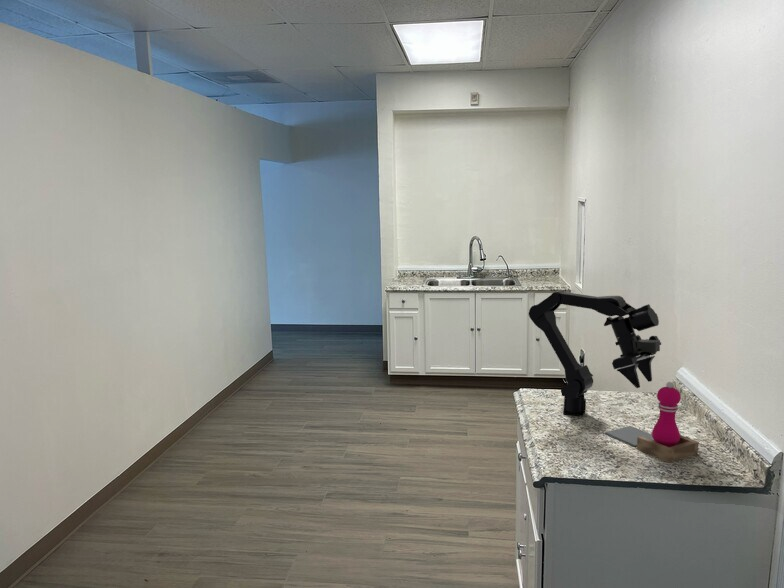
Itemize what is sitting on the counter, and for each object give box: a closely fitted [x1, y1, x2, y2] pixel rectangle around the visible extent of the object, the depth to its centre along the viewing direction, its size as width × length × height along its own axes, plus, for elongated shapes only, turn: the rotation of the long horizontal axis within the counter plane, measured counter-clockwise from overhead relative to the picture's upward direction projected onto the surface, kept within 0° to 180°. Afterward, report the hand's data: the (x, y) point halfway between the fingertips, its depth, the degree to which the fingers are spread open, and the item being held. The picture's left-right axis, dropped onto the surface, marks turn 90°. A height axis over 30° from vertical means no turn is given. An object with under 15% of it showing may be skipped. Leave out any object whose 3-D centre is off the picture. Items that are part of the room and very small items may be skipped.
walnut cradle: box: [636, 434, 700, 464], centre depth 169 cm, size 10×12×4 cm
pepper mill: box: [651, 381, 682, 447], centre depth 169 cm, size 7×7×20 cm
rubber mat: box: [604, 425, 655, 448], centre depth 180 cm, size 11×11×1 cm
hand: (644, 384), depth 183 cm, fingers open, 9 cm apart
